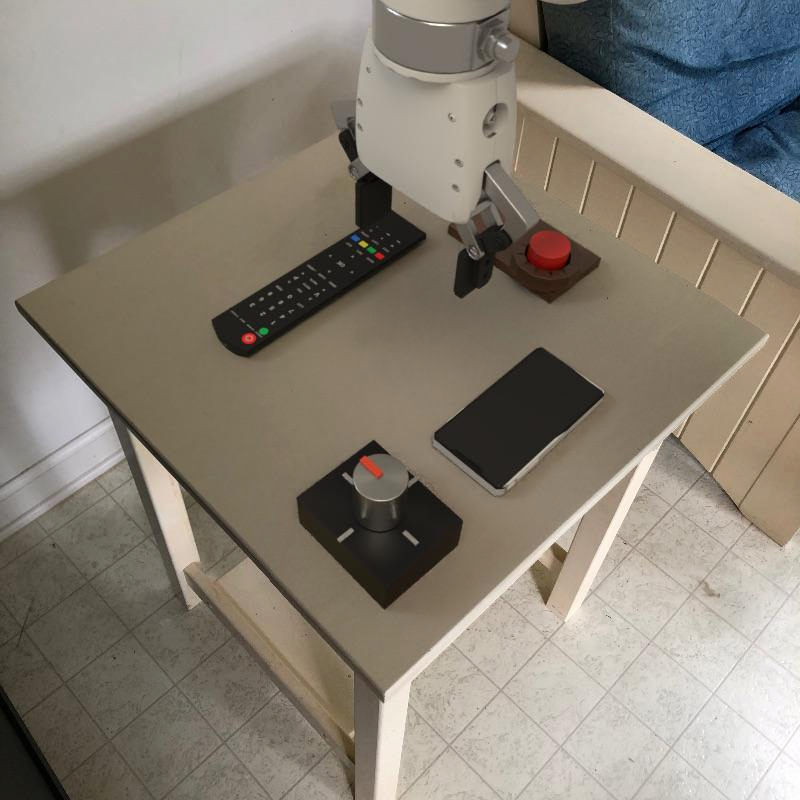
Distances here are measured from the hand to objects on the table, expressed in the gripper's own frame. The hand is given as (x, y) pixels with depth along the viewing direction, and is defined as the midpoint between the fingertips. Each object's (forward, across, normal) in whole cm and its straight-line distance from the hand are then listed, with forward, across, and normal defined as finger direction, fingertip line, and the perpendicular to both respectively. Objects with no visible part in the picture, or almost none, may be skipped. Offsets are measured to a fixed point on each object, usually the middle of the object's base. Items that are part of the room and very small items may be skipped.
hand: (420, 252), depth 59 cm
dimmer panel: (+18, -8, +11) cm, 22 cm away
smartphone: (+18, -8, -5) cm, 21 cm away
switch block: (+18, +6, -23) cm, 30 cm away
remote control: (+18, +16, -4) cm, 24 cm away
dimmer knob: (+14, -8, +11) cm, 19 cm away
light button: (+15, +2, -21) cm, 26 cm away
